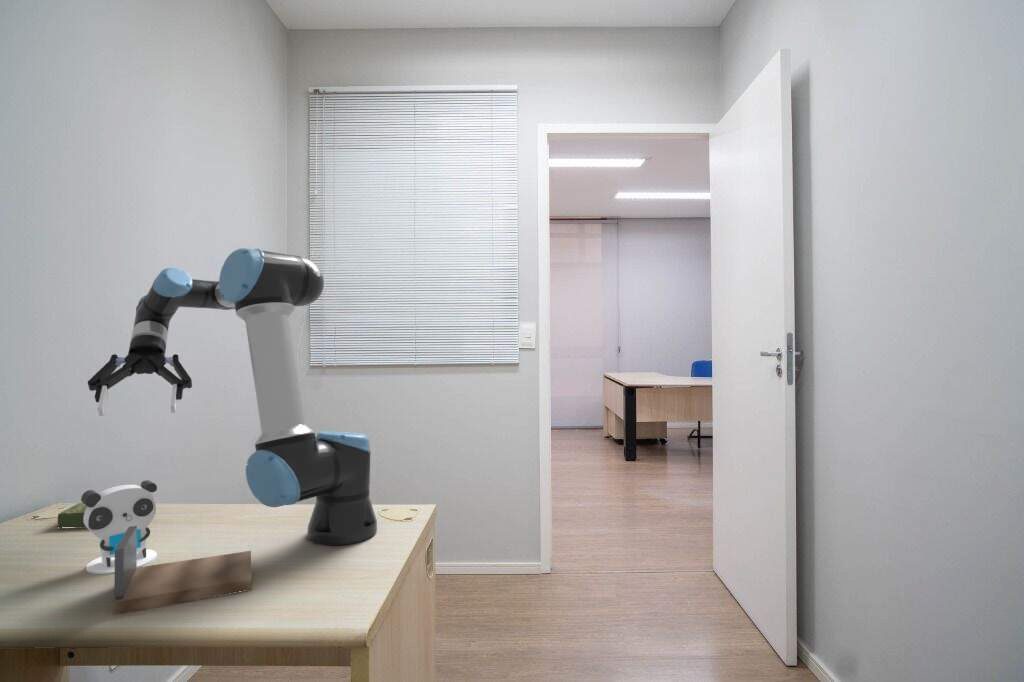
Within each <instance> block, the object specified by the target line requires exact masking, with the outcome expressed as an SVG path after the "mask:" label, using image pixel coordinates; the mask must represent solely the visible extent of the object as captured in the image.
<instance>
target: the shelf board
mask: <svg viewBox="0 0 1024 682" xmlns="http://www.w3.org/2000/svg"><path fill="white" fill-rule="evenodd" d="M252 568H253V567H252V550H248V551H247V550H246V551H239V552H234V553H228V554H227V553H226V554H220V555H213V556H206V557H205V556H204V557H200V558H199V557H198V558H193V559H185V560H178V561H173V562H165V563H159V564H152V565H145V566H142V567H138V568H137V569H136V572H135V574H134V576H133V578H132V580H131V583H130V585H129V587H128V589H127V591H126V593H125V596H124V598H121V599H115V600H113V602H112V616H113V615H120V614H124V613H125V614H126V613H130V612H136V611H140V610H141V611H142V610H147V609H152V608H153V609H154V608H159V607H160V608H161V607H164V606H165V607H166V606H170V605H174V604H175V605H177V604H182V603H186V602H192V601H198V600H203V599H204V598H205V599H210V598H215V597H214V596H216V597H220V596H219V595H222V596H226V595H225V594H227V595H230V594H229V593H233V594H235V593H234V592H239V591H244V590H250V591H252V590H253V576H252V575H253V573H252V572H253V571H252ZM251 589H252V590H251ZM244 592H245V591H244ZM239 593H240V592H239ZM209 597H210V598H209ZM205 599H204V600H205Z"/></svg>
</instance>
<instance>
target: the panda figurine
mask: <svg viewBox="0 0 1024 682" xmlns="http://www.w3.org/2000/svg"><path fill="white" fill-rule="evenodd" d="M157 490H158V486H157V484H156V483H155V482H152V481H151V480H148V479H147V480H145V479H144V480H143V481H141V482H140V485H138V484H124V485H123V484H121V485H117V486H112V487H109V488H107V489H105V490H102V491H100V492H99V493H98V492H96V491H95V490H93V489H88V490H86V491H85V492H83V493H82V495H81V497H80V498H81V499H80V501H81V503H84V504H85V505H86V506H87V508H86V510H85V513H84V518H83V521H84V524H85V526H86V527H87V528H86V529H88V530H89V532H90V533H92V535H94V536H95V537H97V538H98V539H99V547H100V554H101V555H100V556H99V557H97V558H95V559H93V560H91V561H89V563H87V564H86V567H85V570H86V572H88V573H89V574H93V575H110V574H111V575H113V574H115V549H116V547H117V546H118V544H119V542H120V541H121V539H122V537H123V536H124V534H125V532H126V531H127V529H128V527H131V526H137V568H138V567H144V566H148V565H149V564H150V563H152V562H154V561H155V560H156V559H157V557H158V553H157V551H155V550H153V549H147V544H146V541H147V540H146V539H148V537H149V536H150V535H151V530H150V528H149V527H148V526H150V525H151V523H152V521H153V520H154V518H155V515H156V512H157V504H156V501H155V498H154V496H153V494H152V493H154V492H157Z"/></svg>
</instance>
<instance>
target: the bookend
mask: <svg viewBox="0 0 1024 682" xmlns="http://www.w3.org/2000/svg"><path fill="white" fill-rule="evenodd" d="M136 569H137V526H131V527H128V529H127V531H126V532H125V534H124V536H123V537H122V539H121V541H120V542H119V544H118V546H117V547H116V549H115V573H114V582H113V583H114V585H113V586H114V591H113V592H114V597H113V599H114V600H115V599H121V598H124V596H125V593H126V591H127V589H128V587H129V585H130V583H131V580H132V578H133V576H134V574H135V572H136ZM114 600H113V601H114Z"/></svg>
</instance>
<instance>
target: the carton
mask: <svg viewBox="0 0 1024 682" xmlns="http://www.w3.org/2000/svg"><path fill="white" fill-rule="evenodd" d="M86 508H87V506H86V505H85V504H84V503H83V502H78V503H76V504H75V505H72V506H70V507H69V508H66V509H65V510H63V511H61V512H59V513H58V514H57V528H58V527H59V528H62V527H86V526H85V524H84V521H83V518H84V513H85V510H86Z"/></svg>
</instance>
